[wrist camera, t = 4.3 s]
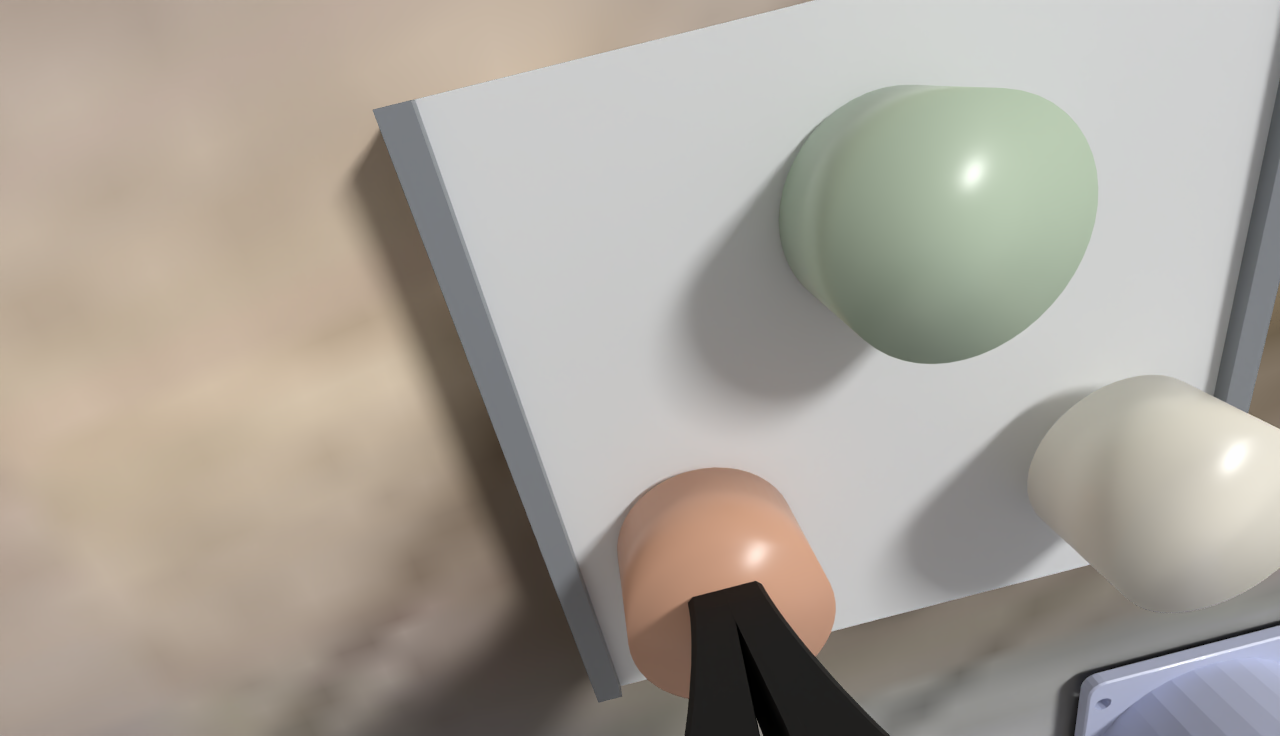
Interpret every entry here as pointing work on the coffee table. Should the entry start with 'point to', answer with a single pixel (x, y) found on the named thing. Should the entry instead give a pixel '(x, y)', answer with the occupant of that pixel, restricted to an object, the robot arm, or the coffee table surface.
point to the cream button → (1163, 492)
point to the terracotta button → (713, 565)
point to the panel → (796, 320)
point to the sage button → (940, 216)
